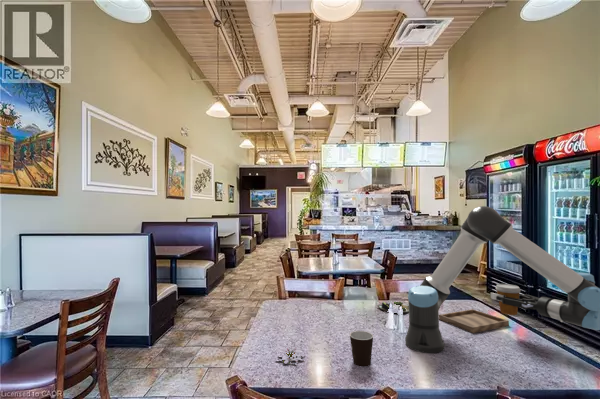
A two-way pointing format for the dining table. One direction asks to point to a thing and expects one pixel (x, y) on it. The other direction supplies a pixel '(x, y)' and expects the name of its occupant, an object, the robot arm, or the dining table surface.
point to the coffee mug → (361, 347)
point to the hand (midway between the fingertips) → (498, 294)
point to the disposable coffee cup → (510, 292)
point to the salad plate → (386, 306)
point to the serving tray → (473, 320)
